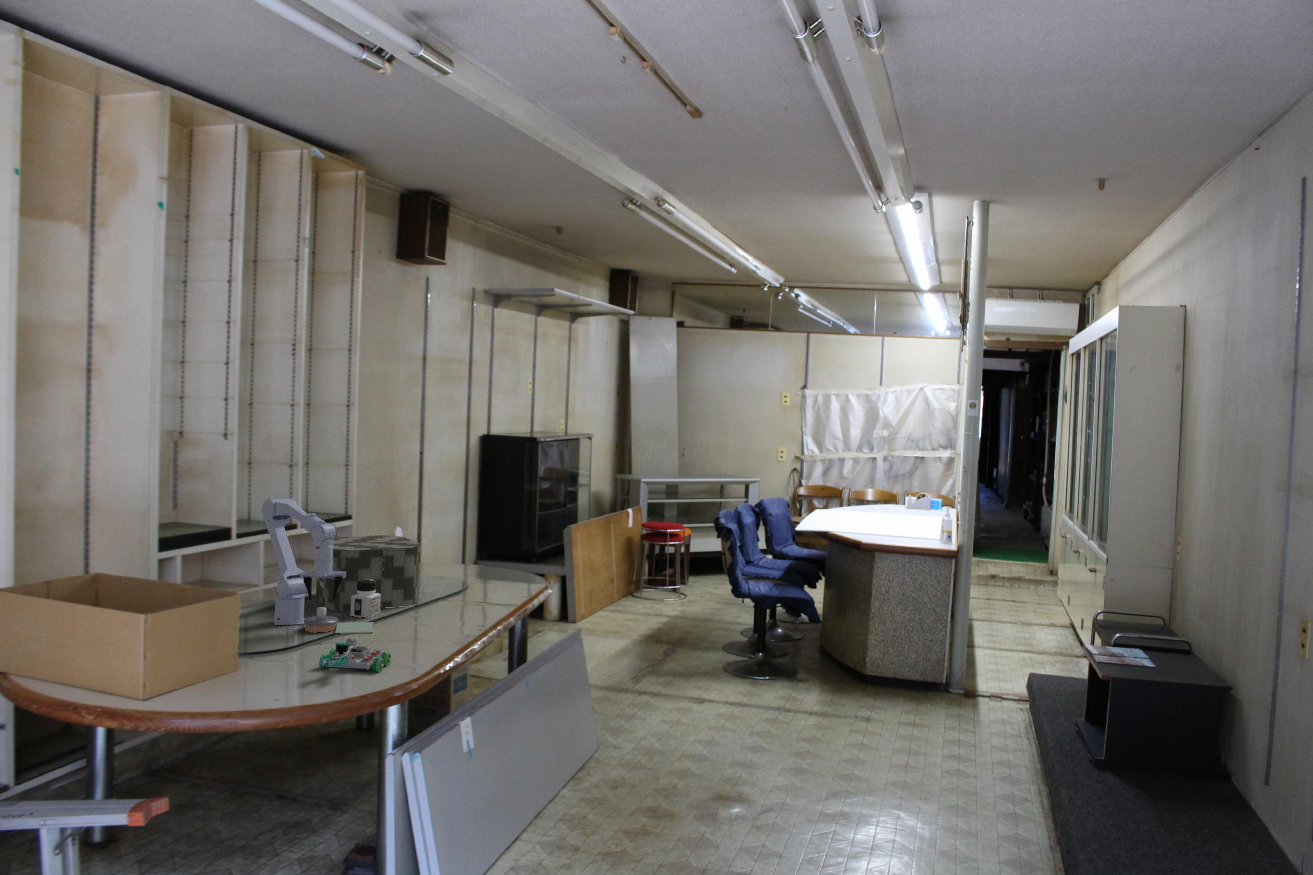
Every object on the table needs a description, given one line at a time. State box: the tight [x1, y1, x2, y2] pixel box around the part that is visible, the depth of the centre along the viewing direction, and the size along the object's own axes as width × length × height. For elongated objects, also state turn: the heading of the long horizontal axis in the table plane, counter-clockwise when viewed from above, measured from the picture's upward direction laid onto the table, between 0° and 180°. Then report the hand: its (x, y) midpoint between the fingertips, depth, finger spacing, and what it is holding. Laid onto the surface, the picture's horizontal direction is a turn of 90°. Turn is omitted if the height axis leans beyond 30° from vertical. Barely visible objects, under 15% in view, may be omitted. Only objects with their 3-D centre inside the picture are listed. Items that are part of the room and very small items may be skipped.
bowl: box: [304, 623, 337, 634], centre depth 305 cm, size 10×10×2 cm
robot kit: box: [318, 637, 392, 673], centre depth 260 cm, size 19×25×9 cm
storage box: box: [315, 534, 422, 612], centre depth 353 cm, size 35×35×23 cm
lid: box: [303, 606, 339, 626], centre depth 305 cm, size 11×11×5 cm
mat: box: [334, 621, 374, 635], centre depth 309 cm, size 12×14×1 cm
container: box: [350, 579, 381, 619], centre depth 329 cm, size 8×8×13 cm
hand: (322, 599), depth 305 cm, fingers open, 7 cm apart
